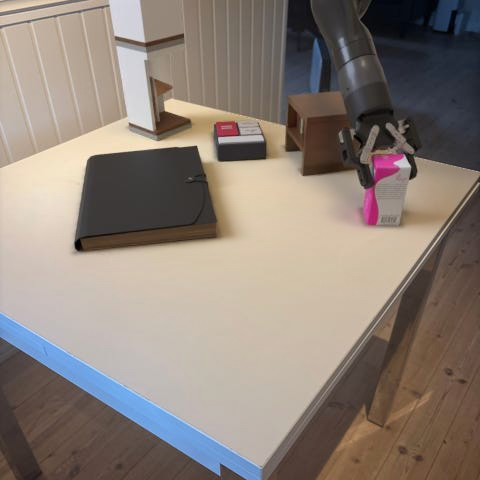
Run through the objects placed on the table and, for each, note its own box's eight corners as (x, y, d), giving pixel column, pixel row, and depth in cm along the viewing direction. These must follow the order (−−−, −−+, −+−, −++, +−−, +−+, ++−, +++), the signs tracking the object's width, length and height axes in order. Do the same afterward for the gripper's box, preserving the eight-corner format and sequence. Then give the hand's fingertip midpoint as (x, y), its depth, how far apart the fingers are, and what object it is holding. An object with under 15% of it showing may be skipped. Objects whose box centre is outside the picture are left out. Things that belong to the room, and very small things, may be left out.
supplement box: (392, 212, 91) (405, 153, 83) (398, 229, 86) (413, 168, 79) (361, 212, 91) (371, 152, 83) (365, 229, 87) (376, 167, 79)
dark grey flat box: (258, 118, 118) (267, 139, 106) (258, 136, 121) (266, 158, 109) (213, 120, 117) (216, 141, 106) (214, 138, 120) (217, 161, 108)
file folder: (218, 219, 82) (71, 236, 79) (219, 240, 84) (77, 257, 82) (197, 143, 106) (85, 154, 103) (199, 161, 109) (89, 172, 106)
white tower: (157, 140, 118) (135, -38, 95) (129, 130, 123) (102, -41, 100) (191, 127, 124) (178, -43, 101) (163, 118, 130) (144, -46, 106)
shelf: (333, 144, 115) (339, 90, 107) (356, 169, 105) (365, 112, 97) (284, 149, 113) (287, 95, 105) (302, 175, 103) (307, 117, 95)
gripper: (338, 85, 77) (366, 182, 77) (412, 74, 81) (439, 167, 81) (318, 109, 85) (344, 198, 84) (388, 98, 89) (412, 183, 88)
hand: (391, 183), depth 83 cm, fingers open, 8 cm apart
